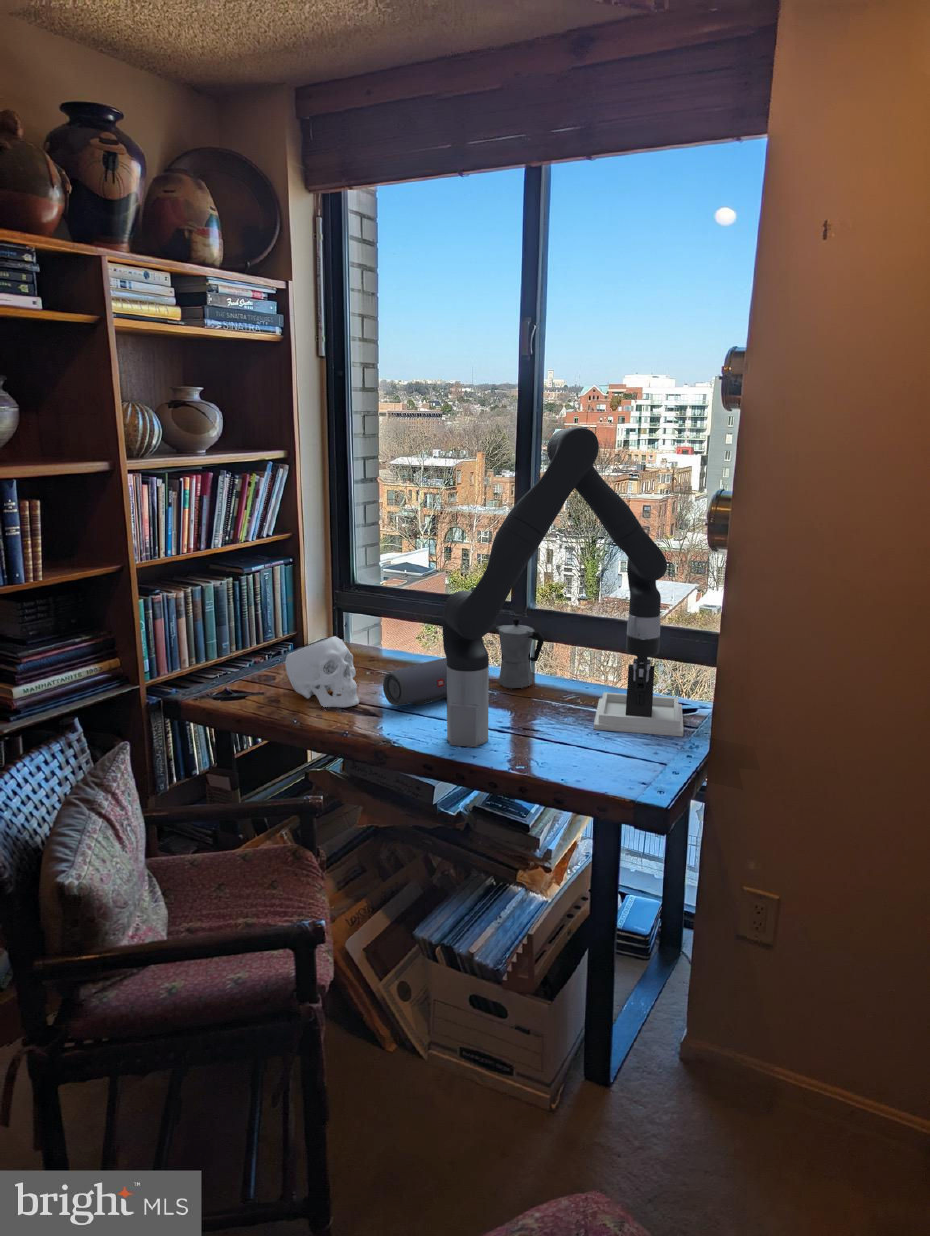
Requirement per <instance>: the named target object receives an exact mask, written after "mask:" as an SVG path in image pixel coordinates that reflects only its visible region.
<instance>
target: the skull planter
mask: <svg viewBox="0 0 930 1236" xmlns="http://www.w3.org/2000/svg"><path fill="white" fill-rule="evenodd" d="M284 666H285V671H286V674H287V677H288V679H289V682H290V684H291V685H292V688H293V690H294V691H295V692H296V693H297V694H299V695H301V696H303V697H304V698H306V699H310V698H312V696H313V695H314V696H316V698H317V699H318V701H319V704H320V706H321V707H322V706H323V707H322V708H325V707H326V708H327V707H328V708H349V707H353V706H356V705H359V703H360V698H359V696H358V694H357V693H358V691H357V690H358V684H357V683H356V681H355V680H354V677H355V676H356V668H355V667H354V655H353V653H351V652H350V650H349V648H348V647H347V645H346V644H345V642H344V641H343V640H342V639H340V638H339V637H338V636H336V635H334V636H331V637H328V638H325V639H322V640H320V641H317V642H315V643H312V644H310V645H307V646H305V647H302V648H299V649H298V650H295V651H293V652H291V653H288V654H286V659H285V664H284ZM328 691H332V694H331V695H330V693H328Z"/></svg>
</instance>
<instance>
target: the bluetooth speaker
mask: <svg viewBox="0 0 930 1236" xmlns="http://www.w3.org/2000/svg"><path fill="white" fill-rule="evenodd" d="M382 688H383V694H384V697H385V699H386V700H387V702H388V703H389V704H390V705H392V706H395V707H396V706H405V705H410V704H412V705H413V706H420V705H421V704H422V705H426V704H429V703H428V702H430V703H432V702H431V701H434V702H437V701H442V700H443V698H444V699H447V660H446V657H444V658H439V659H438V658H437V659H433V660H429V661H425V662H421V663H417V664H412V665H410V666H405V667H403V668H399V669H396V670H393V671H390V672H388V673H386V674H385V677H384V678H383V683H382ZM425 703H426V704H425Z"/></svg>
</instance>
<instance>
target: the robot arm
mask: <svg viewBox="0 0 930 1236" xmlns="http://www.w3.org/2000/svg"><path fill="white" fill-rule="evenodd" d="M546 452H547V458H548V459H549V461H550V463H549V464H548V467H547V469H546V470H545V471H544V473H543V475H541V477H540V478H539V479H538V481H537V482H536V483H535V484H534V485H533V486H532V487H531V488H530V489H529V490H528V491H527V492H526V493H524V494H523V496H522V497H521V498H520V499H519V500H518V501H517V502H516V503H515V504H514V506H513V507H512V508H511V510H510V511H509V512H508V514H507V515H506V517H505V519H504V520H503V522H502V523H501V525H500V527H498V530H497V531H496V534H495V536H494V538H493V542H492V544H491V549H490V554H489V558H488V561H487V566H486V568H485V570H484V573H483V575H482V576H481V578H480V580H479V581H478V583H476V585H475V587H474V589H473V590H472V592H471V591H467V590H458V591H455V592H454V593H452V594H451V595H450V596H449V597H447V599H446V601H445V603H444V606H443V609H442V614H441V615H442V616H441V617H442V621H441V622H442V624H441V625H442V643H443V644H442V646H443V651H444V654H445V658H446V660H447V697H446V739H447V741H448V742H449V745H450V746H456V747H457V746H459V747H469V748H470V747H471V748H477V747H478V746H481V745H482V744H485V743H487V742H488V741H489V699H490V698H489V696H490V695H489V685H490V684H489V678H490V677H489V675H490V670H489V669H490V668H489V667H490V665H489V663H490V657H489V653H488V651H487V649H486V646H485V643H484V639H483V637H484V636H486V635H487V634H488V633H489V632H490V631H491V629H492V628H493V626H494V625H495V623H496V620H497V619H498V617H499V615H500V612H501V611H502V608H503V606H504V604H505V602H506V601H507V598H508V597H509V594H510V593H511V591H512V590H513V588H514V586H515V584H516V583H517V581H518V579H519V578H520V576H521V575H522V573H523V572H524V570H525V568H526V567H527V566H528V563H529V562H530V560H531V558H532V557H533V556H534V554H535V553H536V551H537V550H538V548H539V546H540V545H541V544H542V542H543V540H544V539H545V537H546V535H547V534H548V531H549V530H550V529H551V527H552V524H554V522H555V520H556V518H557V517H558V516H559V513H560V511H561V510H562V508H564V507H563V506H564V505H565V503H566V501H567V500H568V498H569V496H570V495H571V493H572V492H573V491H574V490H576V491H577V492H578V494H579V495H580V496H581V497H582V498H583V500H584V501H585V502H586V504H587V505H588V507H589V508H590V509H591V510H592V512H593V513H594V515H595V516H596V517H597V519H598V520H599V522H600V524H601V525H602V526H603V528H604V530H605V531H606V533H607V535H608V536H609V538H611V540H612V541H613V542H614V544H615V545H616V546H617V547H618V548H619V549H620V550H622V551H623V552H624V554H626V556H627V564H626V571H627V572H626V573H627V575H626V576H627V580H628V581H627V582H628V589H629V607H628V618H627V625H626V645H625V646H626V647H625V649H626V650H625V651H626V653H628V654H629V655H631V656H636V657H635V658H633V662H632V664H633V669H634V677H633V680H634V681H635V688H634V690H635V705H642V706H643V705H644V703H645V692H646V682H648V679H649V670H650V666H651V659H648V657H653V656H656V655H657V656H658V654H659V653H660V644H661V643H660V641H661V640H660V637H661V605H662V604H661V601H662V597H661V593H660V591H659V589H658V587H657V581H658V580H660V579H662V578H663V577H664V576H665V574H666V572H667V569H668V562H667V558H666V556H665V554H664V553H663V552H662V550H661V548H659V546H658V545H657V544H656V543H655V541H654V540H653V539H652V538H651V536H649V535H648V533H647V532H646V531H645V530H644V528H643V527H642V524H641V522H640V521H639V520H638V518H637V517H636V515H635V514H634V512H633V511H632V509H631V508H630V507H629V505H628V503H626V501H625V500H624V499H623V498H622V497H621V496H620V495H619V494H618V493H617V492H616V491H615V490H614V489H613V488H612V487H611V486H610V485H609V484H608V483H607V482H606V481H605V480H604V478H603V477H602V476H601V475H600V473H599V472H598V471H597V469H596V468H595V467H594V464H595V462H596V460H597V457H598V455H599V452H600V444H599V439H598V436H597V435H596V433H594V431H593V430H591V429H589V428H586V427H583V426H582V427H581V426H577V427H568V428H563V429H559V430H557V431H556V432H554V433H553V434H552V435H551V436H550V438H549V439H548V442H547V445H546ZM646 668H647V669H646ZM638 683H643V684H644V687H641V686H637V684H638Z"/></svg>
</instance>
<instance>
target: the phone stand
mask: <svg viewBox="0 0 930 1236" xmlns="http://www.w3.org/2000/svg"><path fill="white" fill-rule="evenodd" d="M655 667H656V666H655V665H650V670H649V679H648V682H646V692H645V703H644V705H643V706H642V705H635V690H634V688H635V681H634V680H633V677H634V669H633V663H632V664H630V663H629V664H628V668H627V669H628V670H627V686H626V688H627V689H626V694H627V699H626V716H639V717H651V718H652V705H653V696H654V685H655V684H654V683H655V682H654V681H655ZM646 669H647V668H646ZM637 686H641V687H644V684H643V683H638V684H637Z"/></svg>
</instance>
